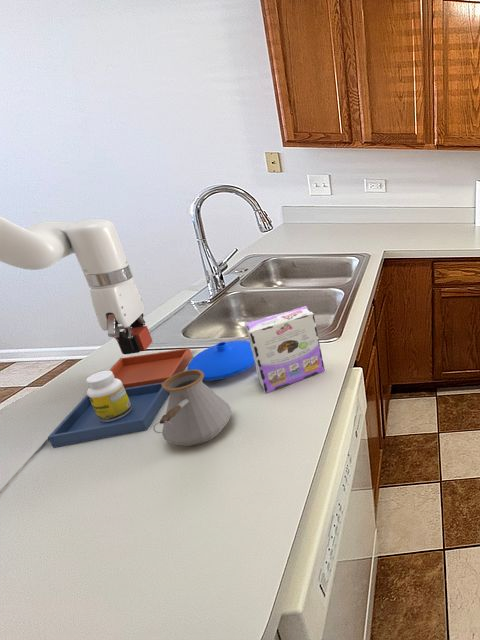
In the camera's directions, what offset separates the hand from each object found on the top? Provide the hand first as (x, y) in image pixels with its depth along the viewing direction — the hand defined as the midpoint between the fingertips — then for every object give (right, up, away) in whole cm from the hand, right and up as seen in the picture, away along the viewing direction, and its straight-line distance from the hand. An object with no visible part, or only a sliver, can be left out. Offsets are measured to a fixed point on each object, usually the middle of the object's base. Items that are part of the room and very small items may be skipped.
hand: (137, 346), depth 94 cm
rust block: (0, 0, 0) cm, 0 cm away
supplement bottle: (+4, -13, -10) cm, 17 cm away
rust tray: (0, -8, +3) cm, 8 cm away
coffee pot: (+27, -17, -18) cm, 37 cm away
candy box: (+36, -8, +3) cm, 37 cm away
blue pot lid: (+18, -7, +6) cm, 20 cm away
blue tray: (+5, -13, -10) cm, 17 cm away
